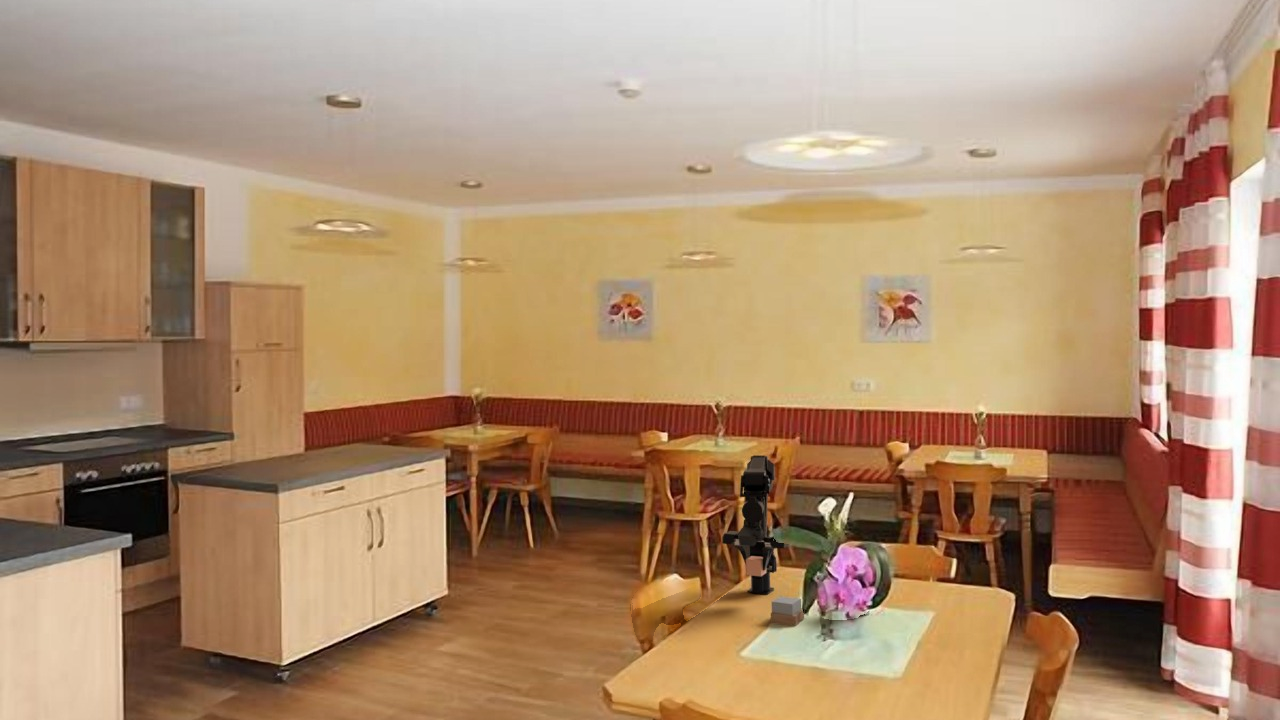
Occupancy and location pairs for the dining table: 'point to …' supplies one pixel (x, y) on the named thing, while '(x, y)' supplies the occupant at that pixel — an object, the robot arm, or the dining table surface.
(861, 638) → the dining table surface
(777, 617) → the walnut block
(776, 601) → the slate block
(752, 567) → the terracotta cube
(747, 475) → the robot arm
